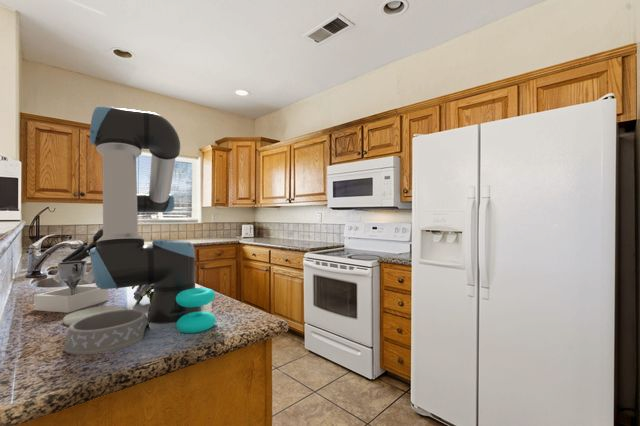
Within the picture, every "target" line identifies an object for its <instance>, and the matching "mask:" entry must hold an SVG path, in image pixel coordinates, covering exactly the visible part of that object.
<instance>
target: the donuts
mask: <svg viewBox="0 0 640 426" xmlns="http://www.w3.org/2000/svg"><path fill="white" fill-rule="evenodd" d="M215 297H216V293H215V291H214V290H213V289H211V288H208V287H199V288H198V287H197V288H196V287H195V288H194V289H188V290H184V291H182V292H180V293H179V294H178V295H177V296H176V302H177V303H178V304H179V305H181V306H184V307H199V306H202V307H203V306H206V305H208V304H210V303H212V302H213V300H214V299H215ZM215 324H216V316H215V315H214V314H213V313H211V312H209V311H203V310H202V311H199V312H192V313H188V314H186V315H184V316H182V317H181V318H180V319H179V320H178V321H177V322H176V324H175V325H176V326H175V327H176V329H177V331H180V332H182V333H186V334H193V333H194V334H195V333H202V332H205V331H207V330H209V329H211V328H212V327H213V326H214V325H215Z"/></svg>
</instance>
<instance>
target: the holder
mask: <svg viewBox="0 0 640 426" xmlns="http://www.w3.org/2000/svg"><path fill="white" fill-rule="evenodd" d="M33 297H34V302H33V303H34V311H42V312H53V313H55V312H56V313H68V314H70V313H73V312H76V311H79V310H83V309H86V308H87V307H88V308H89V307H92V306H95V305H98V304H101V303H103V302H107V301H109V289H100V288H98V287H97V286H96V285H79V284H78V285H77V286H76V288H75V294H74V295H71V290H70V288H69V287H68V286H67V287H65V288H64V287H63V288H59V289H56V290H51V291H46V292H42V293H38V294H34V295H33Z"/></svg>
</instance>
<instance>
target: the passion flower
mask: <svg viewBox="0 0 640 426" xmlns="http://www.w3.org/2000/svg"><path fill="white" fill-rule="evenodd" d="M135 287H136V286H132V287H131V289H132V290H133V289H135ZM152 290H153V291H152ZM153 293H154V284H148V285H140V286H137V288H136V290H135V291H134V292H133V295H134V296H133V299H134V300H135V301H136V302H135V304H134V305H135V306H139V304H140V302H141V301H142V300H143V298H144V297H145V296H147V298H148V299H149V304H150V303H151V300H152V296H153Z"/></svg>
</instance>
